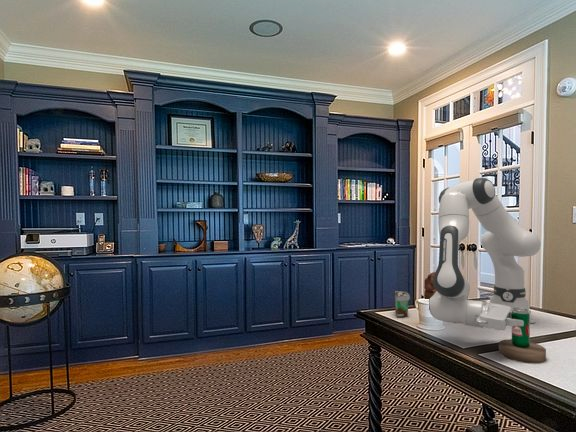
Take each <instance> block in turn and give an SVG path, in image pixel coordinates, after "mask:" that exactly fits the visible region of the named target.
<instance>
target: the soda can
mask: <svg viewBox="0 0 576 432" xmlns="http://www.w3.org/2000/svg"><path fill="white" fill-rule="evenodd" d="M511 316H512V319H521V320H524V326H511V339H512V344H513V345H514V346H517V347H522V348H527V347H529V346H530V342H531V339H530V338H531V337H530V336H531V327H530V326H531V325H530V324H531V323H530V313H529V312H528V309H525V308H518V307H516V308H513V310H512V311H511Z"/></svg>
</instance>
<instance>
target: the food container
mask: <svg viewBox="0 0 576 432" xmlns="http://www.w3.org/2000/svg"><path fill="white" fill-rule="evenodd" d="M394 295H395V296H394V299H395V300H394V302H395V303H394V307H395V308H394V309H395V312H394V313H395V315H396V318H397V319H402V318H407V317H408V314H409V300H411V296H410V294H409V293H408V292H407V291H401V290H400V291H399V290H394Z"/></svg>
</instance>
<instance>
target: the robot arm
mask: <svg viewBox="0 0 576 432" xmlns="http://www.w3.org/2000/svg"><path fill="white" fill-rule="evenodd" d="M438 204H439V207H438V213H437V216H438V217H437V218H438V219H437V220H438V222H437V223H438V225H437V226H438V232H439V234H438V235H439V252H438V263H437V264H438V265H437V268H436V270H435V271H434V272H435V274H434V277H433V285H434V288H435V289H436V293H435V294H434V295H433V296H432V297H431V298H430V299H429V309H428V310H429V314H430V315H431V316H432V317H433V318H434V319H435V320H437V321H440V322H446V323H451V324H462V325H465V326H470V327H474V328H482V329H483V328H487V329H490V330H491V329H492V330H496V331H505V330H506V328H507V326H509V327H512V326H524V320H521V319H512V316H511V311H512V310H513V308H516V307H518V308H525V309H528V312H529V313H530V324H535V323H536V320H535V317H534V316H533V314H532V313H531V310H530V302H529V301H528V300H527V299H526V297H527V295H526V294H527V291H526V288H525V270H524V269H523V267H522V266H521V265H520V264H518V262H517V261H516V258H515V257H519V258H520V257H522V258H525V257H533V256H535V255H537V254H538V253H539V251H540V249H541V246H542V245H541V244H542V243H541V239H540V237H539V236H538V235H537V234H536V233H534V232H531V231H529V230H527V229H526V228H524V226H522V225H521V224H519V223H518V222H517V221H516V220H514V219H513V217H512V216H511V215H510V214H509V213H508V211H507V210H506V208H505V207H504V206H503V204H502V202H501V200H500V199H499V197H498V196H497V195H496V187H495V185H494V183H493V182H492V181H491V180H490V179H488V178H487V177H478V178H477V177H476V178H475V179H470V180H466V181H463V182H460V183H458V184H455V185H452V186H450V187H446V188H444V189H443V190H442V191H440V193H439V196H438ZM470 209H471V210H472V212H473V213H474V216H475V217H476V219H477V220H478V221H479V223H480V225H481V226H482V227H483V229H484V230H485V231H486V232H484V233H483V234H482V237H481V239H480V243H481V246H482V248H483V249H484V251H486V253H487V254H488V255H489V257H490V260H491V262H492V266H493V268H494V269H493V270H494V286H493V294H494V295H492V296H491V297H490V299H489V302H488V301H487V300H471V299H469V294H470V289H471V287H470V282H469V281H468V279H467V278H466V276H464V275H463V274H462V272H461V271H460V268H459V267H460V266H459V250H460V249H459V248H460V247H459V246H460V242H461V241H463V240H465V239H466V238H467V237H468V235H469V230H470V211H469V210H470Z"/></svg>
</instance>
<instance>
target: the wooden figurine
mask: <svg viewBox="0 0 576 432" xmlns="http://www.w3.org/2000/svg"><path fill="white" fill-rule="evenodd" d="M435 272H436V271H433V272H430V273H429V274H428V275H427V277H426V278H425V279H424V286H423V287H424V293H423V294H424V297H423V299H430V298H431V297H432V296H433V295H434V294H435V293H436V289H435V288H434V285H433V277H434V274H435Z"/></svg>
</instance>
